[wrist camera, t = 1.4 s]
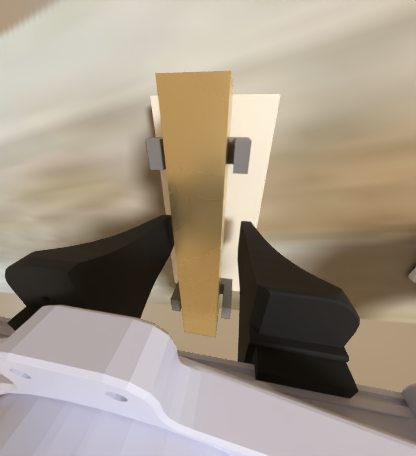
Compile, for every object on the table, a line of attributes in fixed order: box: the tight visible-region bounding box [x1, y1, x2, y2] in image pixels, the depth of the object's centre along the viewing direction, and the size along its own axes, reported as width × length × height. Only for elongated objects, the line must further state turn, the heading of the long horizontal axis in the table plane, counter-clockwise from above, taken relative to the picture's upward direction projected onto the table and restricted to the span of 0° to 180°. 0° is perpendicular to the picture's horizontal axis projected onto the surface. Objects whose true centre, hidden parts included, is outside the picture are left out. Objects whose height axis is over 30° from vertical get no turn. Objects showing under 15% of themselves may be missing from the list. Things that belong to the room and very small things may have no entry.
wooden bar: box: [155, 71, 233, 337], centre depth 10 cm, size 2×15×2 cm, turn 0°
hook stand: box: [146, 94, 280, 319], centre depth 12 cm, size 7×15×5 cm, turn 0°
